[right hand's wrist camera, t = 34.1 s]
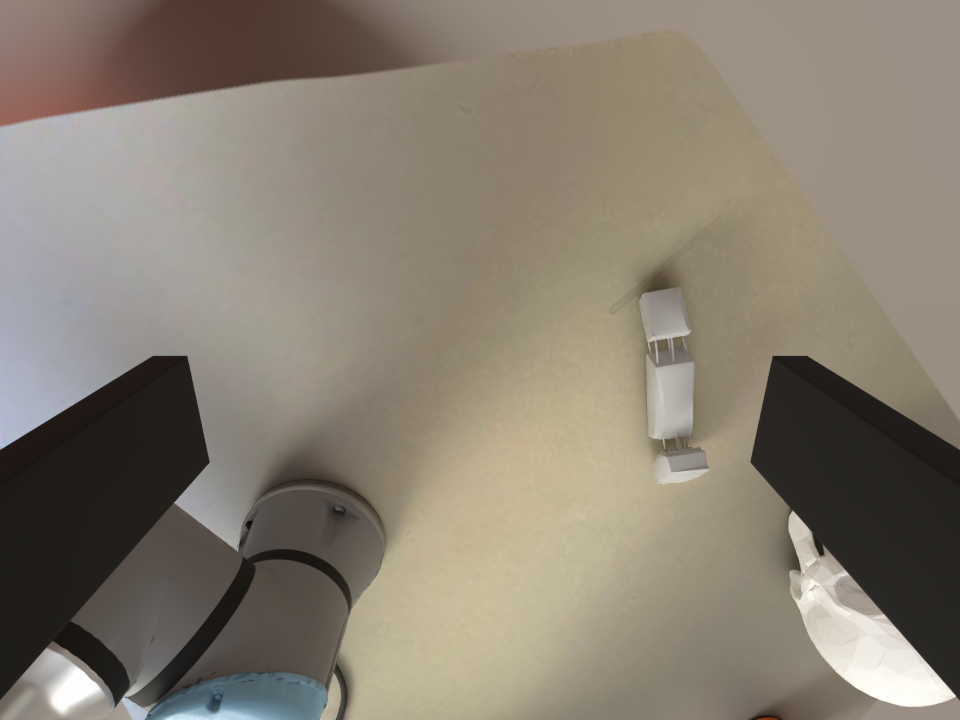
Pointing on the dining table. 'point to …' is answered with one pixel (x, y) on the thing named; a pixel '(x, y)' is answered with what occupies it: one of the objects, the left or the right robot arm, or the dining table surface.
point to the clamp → (670, 385)
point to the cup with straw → (767, 718)
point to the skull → (857, 630)
